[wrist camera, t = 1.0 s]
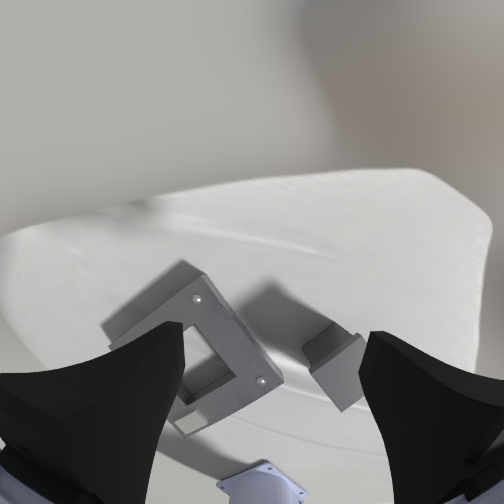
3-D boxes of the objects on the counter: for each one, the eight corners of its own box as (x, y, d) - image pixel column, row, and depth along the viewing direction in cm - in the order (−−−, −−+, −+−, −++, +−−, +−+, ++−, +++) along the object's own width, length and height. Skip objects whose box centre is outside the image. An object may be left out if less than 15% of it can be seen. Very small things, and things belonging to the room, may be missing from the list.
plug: (359, 351, 25) (388, 376, 18) (322, 378, 25) (341, 412, 18) (335, 317, 25) (361, 335, 18) (297, 346, 25) (310, 374, 18)
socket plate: (281, 372, 25) (284, 384, 22) (189, 425, 25) (183, 440, 22) (206, 274, 25) (199, 275, 22) (119, 339, 25) (105, 347, 22)
